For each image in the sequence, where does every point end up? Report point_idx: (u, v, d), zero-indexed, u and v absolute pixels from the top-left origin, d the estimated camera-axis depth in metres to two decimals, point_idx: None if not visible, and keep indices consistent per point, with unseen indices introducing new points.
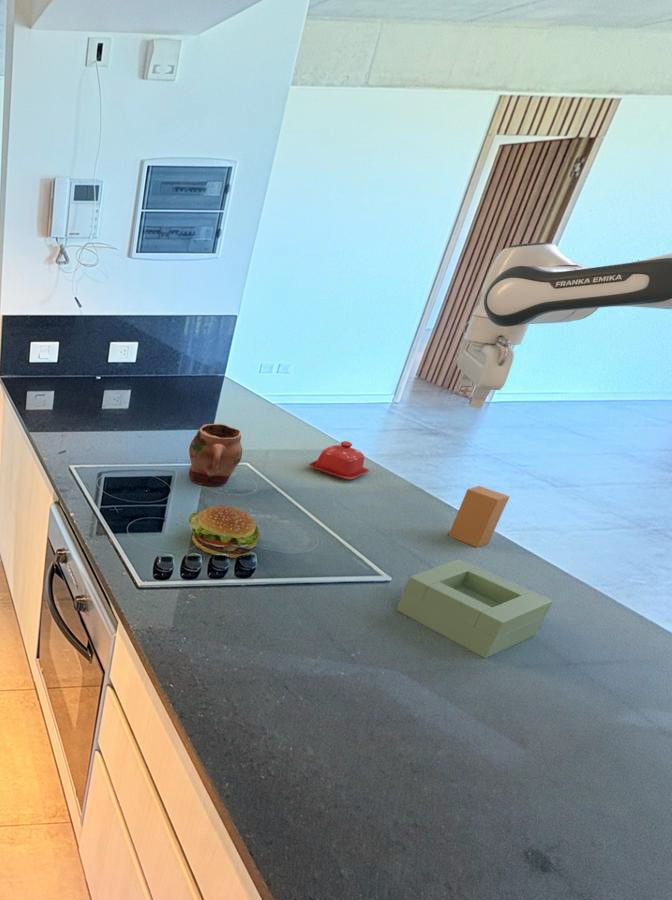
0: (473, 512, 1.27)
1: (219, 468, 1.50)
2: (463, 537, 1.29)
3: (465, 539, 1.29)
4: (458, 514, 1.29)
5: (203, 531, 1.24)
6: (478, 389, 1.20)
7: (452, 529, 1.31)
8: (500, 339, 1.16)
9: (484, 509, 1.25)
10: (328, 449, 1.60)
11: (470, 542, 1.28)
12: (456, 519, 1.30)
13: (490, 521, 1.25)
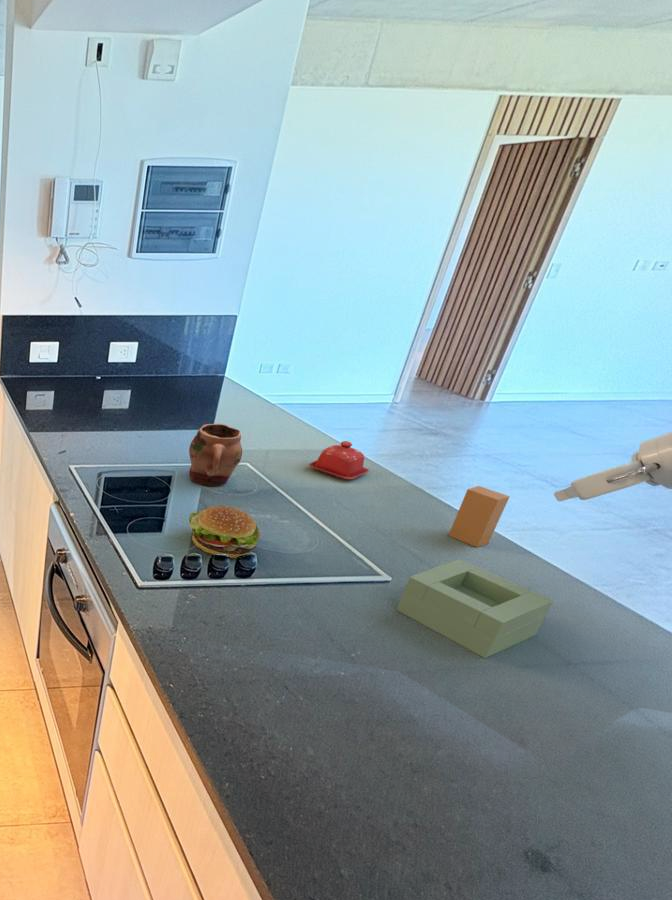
0: (473, 512, 1.27)
1: (219, 468, 1.50)
2: (463, 537, 1.29)
3: (465, 539, 1.29)
4: (458, 514, 1.29)
5: (203, 531, 1.24)
6: None
7: (452, 529, 1.31)
8: (648, 465, 0.99)
9: (484, 509, 1.25)
10: (328, 449, 1.60)
11: (470, 542, 1.28)
12: (456, 519, 1.30)
13: (490, 521, 1.25)
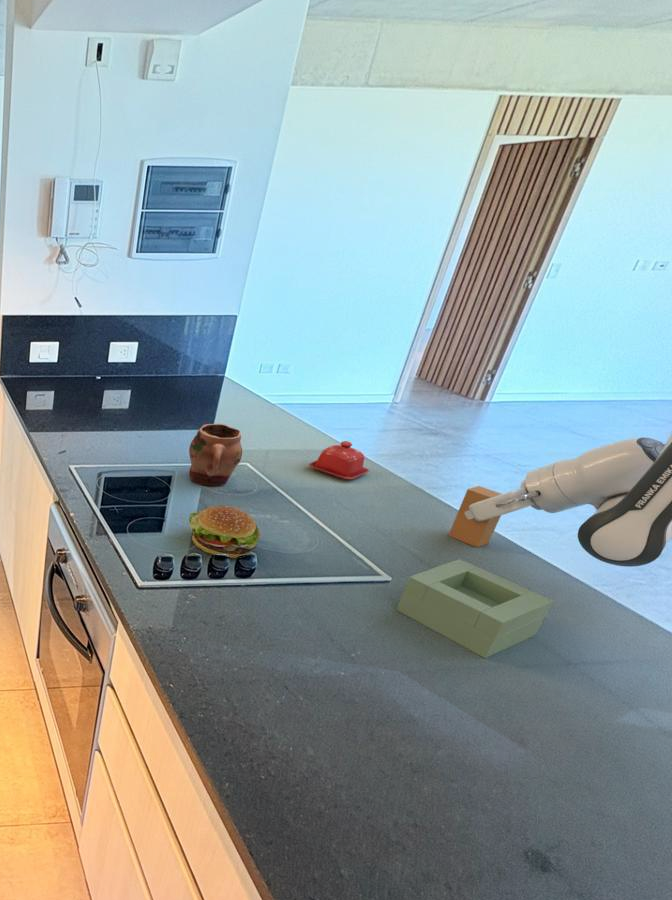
0: None
1: (219, 468, 1.50)
2: (463, 537, 1.29)
3: (465, 539, 1.29)
4: (458, 514, 1.29)
5: (203, 531, 1.24)
6: None
7: (452, 529, 1.31)
8: (530, 492, 1.14)
9: None
10: (328, 449, 1.60)
11: (470, 542, 1.28)
12: (456, 519, 1.30)
13: (489, 521, 1.25)
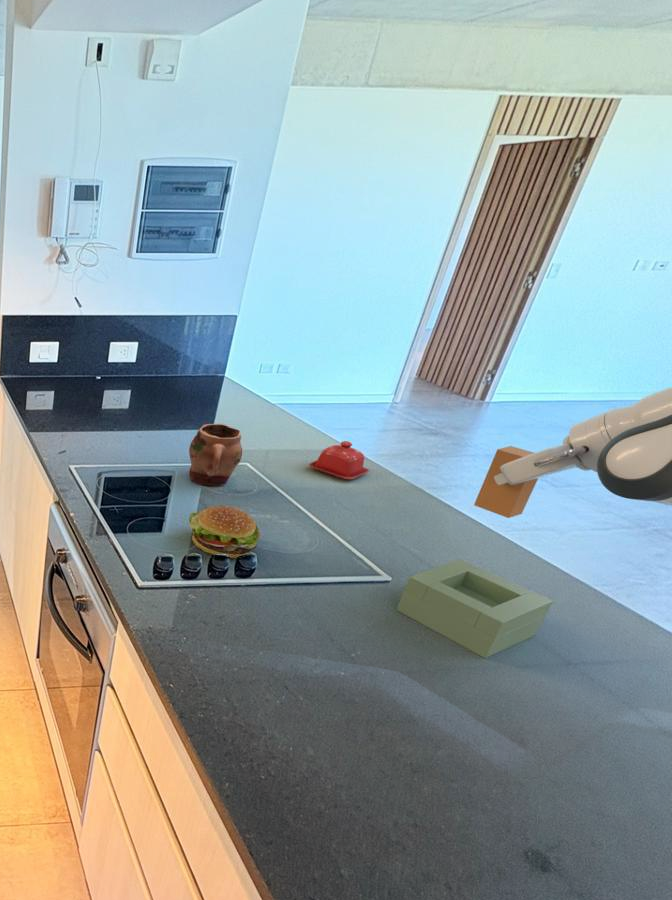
0: None
1: (219, 468, 1.50)
2: (492, 506, 1.10)
3: (494, 509, 1.10)
4: (486, 479, 1.10)
5: (203, 531, 1.24)
6: None
7: (478, 497, 1.12)
8: (576, 448, 0.95)
9: None
10: (328, 449, 1.60)
11: (500, 512, 1.09)
12: (483, 485, 1.11)
13: (524, 486, 1.06)
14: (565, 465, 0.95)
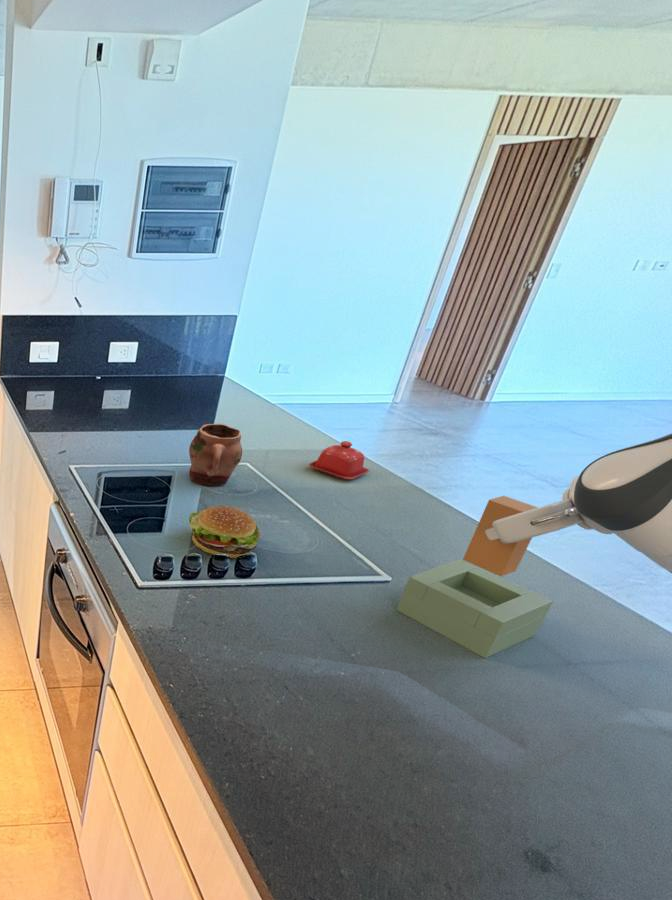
0: None
1: (219, 468, 1.50)
2: (482, 562, 0.99)
3: (485, 566, 0.98)
4: (476, 532, 0.99)
5: (203, 531, 1.24)
6: None
7: (468, 552, 1.00)
8: None
9: None
10: (328, 449, 1.60)
11: (492, 569, 0.98)
12: (473, 539, 0.99)
13: (518, 543, 0.94)
14: (565, 525, 0.84)
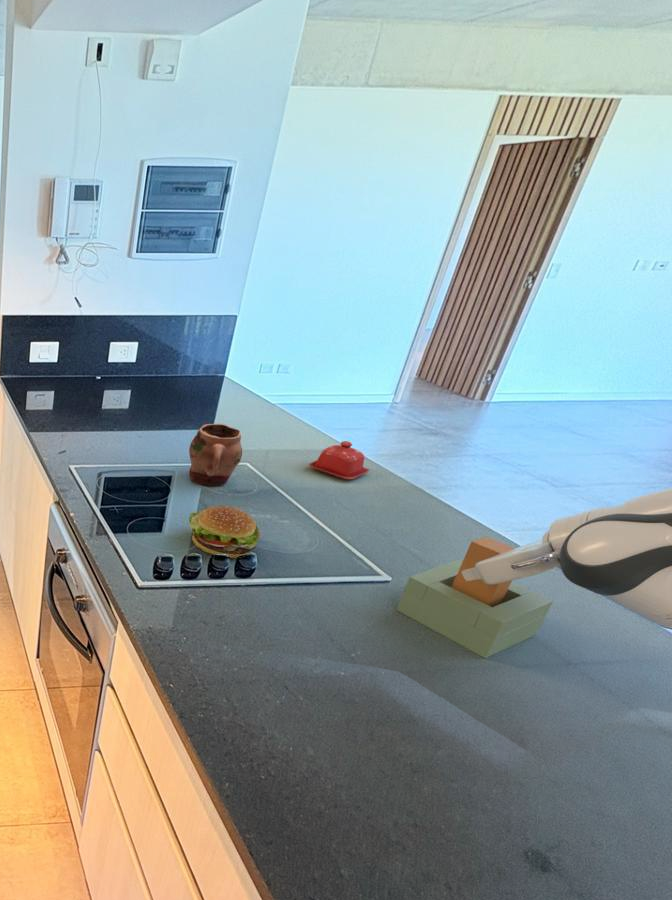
0: None
1: (219, 468, 1.50)
2: None
3: None
4: (459, 572, 1.02)
5: (203, 531, 1.24)
6: None
7: None
8: (556, 551, 0.86)
9: None
10: (328, 449, 1.60)
11: None
12: (457, 578, 1.02)
13: (500, 584, 0.97)
14: (545, 570, 0.87)
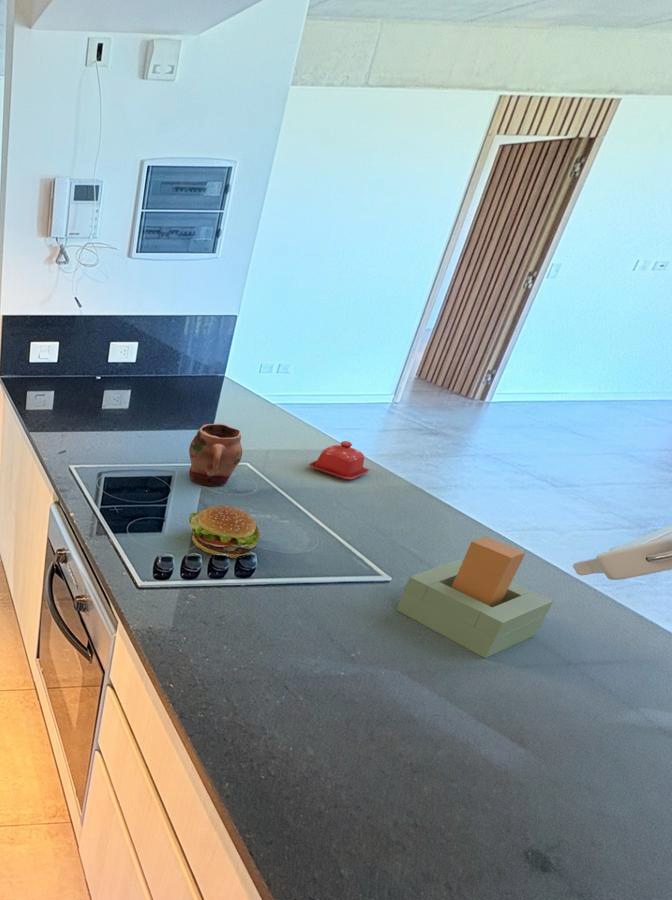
0: (478, 570, 0.99)
1: (219, 468, 1.50)
2: None
3: None
4: (459, 572, 1.02)
5: (203, 531, 1.24)
6: None
7: None
8: None
9: (493, 568, 0.97)
10: (328, 449, 1.60)
11: None
12: (457, 578, 1.02)
13: (500, 584, 0.97)
14: None
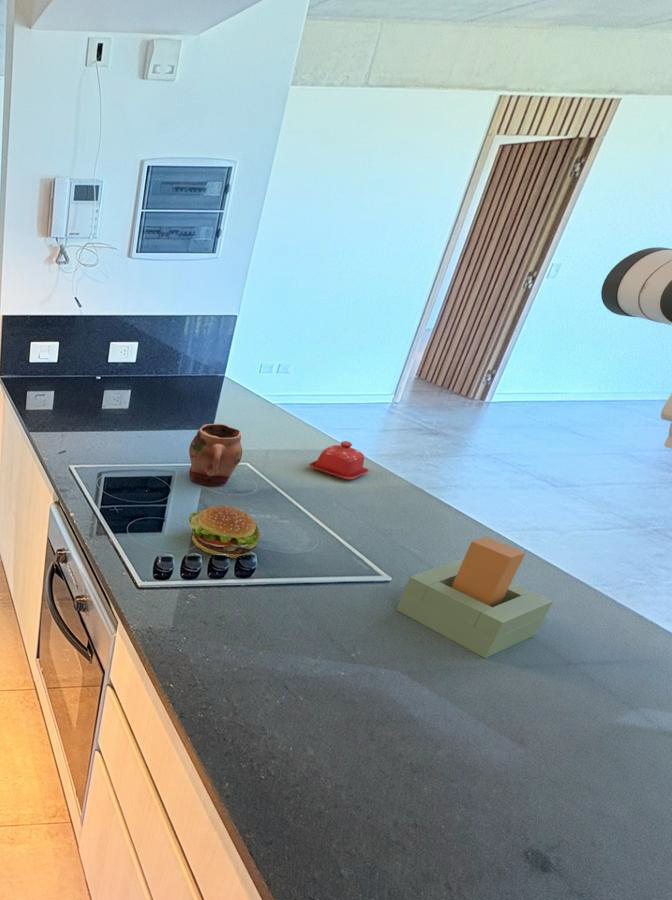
0: (478, 570, 0.99)
1: (219, 468, 1.50)
2: None
3: None
4: (459, 572, 1.02)
5: (203, 531, 1.24)
6: None
7: None
8: None
9: (493, 568, 0.97)
10: (328, 449, 1.60)
11: None
12: (457, 578, 1.02)
13: (500, 584, 0.97)
14: None
